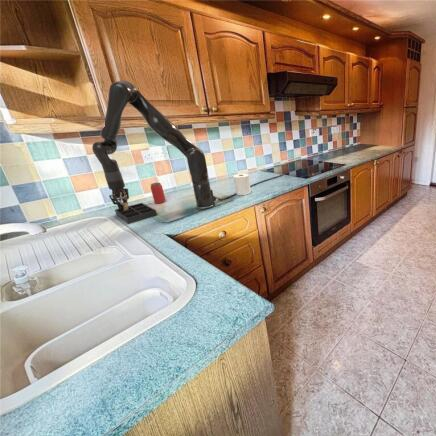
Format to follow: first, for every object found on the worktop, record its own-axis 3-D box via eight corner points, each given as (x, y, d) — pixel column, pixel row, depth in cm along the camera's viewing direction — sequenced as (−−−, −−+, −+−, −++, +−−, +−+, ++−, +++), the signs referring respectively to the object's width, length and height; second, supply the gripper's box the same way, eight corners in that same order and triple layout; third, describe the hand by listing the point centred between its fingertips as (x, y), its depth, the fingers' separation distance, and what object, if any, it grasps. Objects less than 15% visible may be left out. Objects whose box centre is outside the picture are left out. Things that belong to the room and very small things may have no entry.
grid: (143, 207, 157) (141, 202, 155) (157, 215, 143) (155, 210, 142) (116, 214, 147) (114, 209, 146) (128, 223, 133) (126, 218, 132)
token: (127, 207, 149) (125, 201, 147) (129, 209, 146) (128, 203, 145) (118, 209, 146) (116, 204, 145) (121, 211, 143) (119, 205, 142)
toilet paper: (251, 190, 179) (249, 173, 174) (250, 194, 169) (248, 176, 164) (236, 191, 178) (234, 174, 174) (234, 195, 169) (232, 177, 164)
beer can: (160, 204, 161) (155, 185, 156) (152, 203, 162) (147, 185, 158) (168, 200, 166) (163, 182, 162) (159, 200, 168) (155, 182, 164)
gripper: (113, 182, 133) (123, 213, 139) (128, 175, 146) (137, 204, 152) (99, 183, 133) (109, 214, 139) (115, 176, 146) (124, 205, 152)
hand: (124, 208), depth 146 cm, fingers closed on token, 4 cm apart
